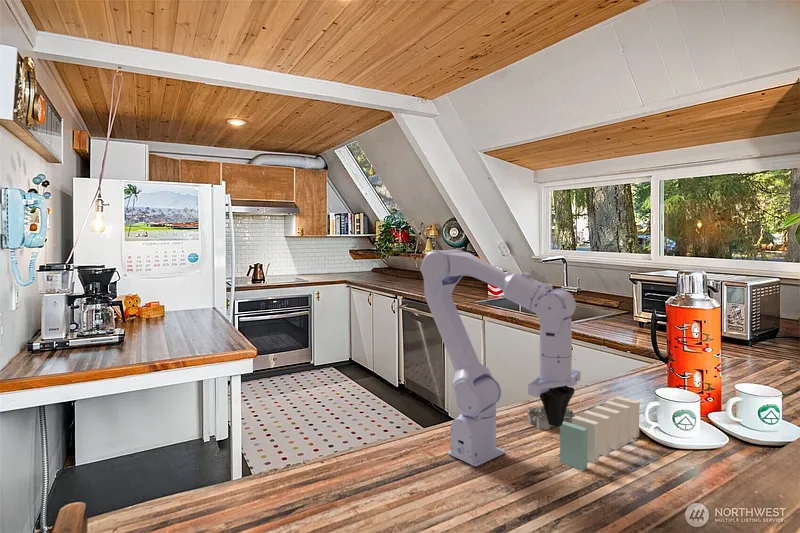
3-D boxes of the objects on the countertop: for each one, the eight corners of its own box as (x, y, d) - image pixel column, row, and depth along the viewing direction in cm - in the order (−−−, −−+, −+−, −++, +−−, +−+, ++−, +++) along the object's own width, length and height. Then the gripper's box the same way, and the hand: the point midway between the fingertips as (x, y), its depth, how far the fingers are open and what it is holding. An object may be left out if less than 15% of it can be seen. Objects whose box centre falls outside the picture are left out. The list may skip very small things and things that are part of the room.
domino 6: (635, 438, 109) (636, 403, 108) (613, 431, 113) (614, 397, 112) (639, 436, 110) (639, 401, 109) (617, 429, 114) (617, 396, 113)
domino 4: (616, 450, 103) (616, 413, 103) (594, 442, 107) (594, 407, 106) (620, 448, 104) (620, 411, 104) (597, 440, 108) (598, 405, 108)
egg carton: (540, 432, 114) (540, 415, 113) (523, 421, 121) (523, 404, 120) (579, 426, 117) (579, 410, 116) (560, 415, 124) (560, 399, 124)
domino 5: (626, 444, 106) (626, 408, 106) (604, 437, 110) (604, 402, 109) (629, 442, 107) (630, 406, 107) (607, 435, 111) (608, 400, 110)
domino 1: (582, 470, 95) (583, 430, 94) (559, 461, 98) (560, 423, 98) (587, 468, 96) (587, 428, 95) (564, 459, 99) (564, 421, 99)
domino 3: (605, 456, 100) (606, 418, 100) (583, 448, 104) (583, 412, 104) (609, 454, 101) (610, 416, 101) (587, 446, 105) (587, 410, 105)
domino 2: (594, 463, 97) (594, 424, 97) (571, 455, 101) (572, 417, 101) (598, 461, 98) (599, 422, 98) (576, 452, 102) (576, 415, 102)
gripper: (552, 365, 84) (552, 442, 85) (595, 351, 93) (594, 420, 94) (518, 358, 89) (518, 430, 90) (562, 345, 98) (561, 411, 99)
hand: (555, 424), depth 92 cm, fingers closed
